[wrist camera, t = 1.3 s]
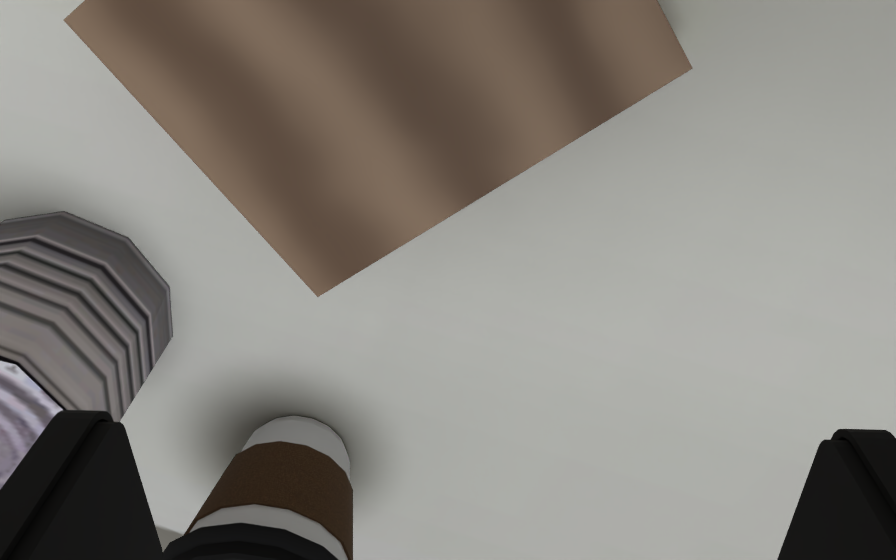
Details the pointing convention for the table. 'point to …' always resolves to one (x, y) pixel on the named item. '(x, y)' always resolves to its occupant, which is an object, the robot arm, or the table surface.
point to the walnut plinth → (374, 102)
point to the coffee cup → (277, 500)
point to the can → (72, 325)
